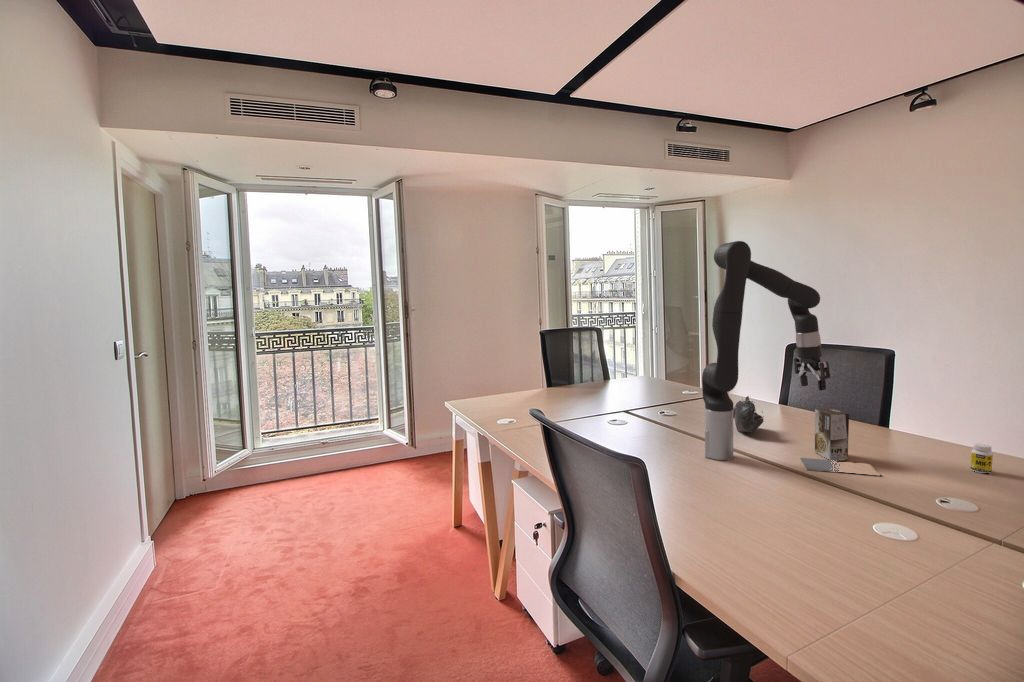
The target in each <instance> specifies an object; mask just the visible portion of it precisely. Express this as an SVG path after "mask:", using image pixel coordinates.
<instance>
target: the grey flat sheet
mask: <svg viewBox="0 0 1024 682" xmlns="http://www.w3.org/2000/svg"><path fill="white" fill-rule="evenodd" d="M800 461H801V463H802V464H803V463H804V464H803V466H804V465H805V466H804V468H805V467H806V468H805V470H806V469H807V470H806V471H809V470H821V471H833V466H832V465H833V464H834V463H833V462H834V461H836V460H834V461H833V460H832V461H833V462H832V461H831V460H828V459H824V458H823V459H822V458H813V457H812V458H811V457H810V458H809V457H800ZM831 462H832V464H831ZM837 463H838V462H837ZM837 463H835V464H834V468H835V469H837V468H836V467H835V465H837ZM839 466H840V464H839ZM837 467H838V466H837ZM831 468H832V469H831ZM830 469H831V470H830ZM835 469H834V471H835V472H836V471H837V472H838V471H839V470H838V469H839V468H838V469H837V470H835ZM821 471H820V472H821Z"/></svg>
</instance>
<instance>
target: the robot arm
mask: <svg viewBox="0 0 1024 682" xmlns="http://www.w3.org/2000/svg"><path fill="white" fill-rule="evenodd" d="M713 259H714V263H715V264H716V265H717V266H718V267H719V268H721V269H722V270H725V279H724V283H723V286H722V289H721V290H720V293H719V294H718V297H717V299H716V300H715V303H714V307H713V312H712V320H711V321H712V323H711V326H712V327H711V328H712V332H713V336H714V340H715V343H716V347H717V348H716V349H717V355H716V362H711V363H708V364H707V365H706V366H705V367H704V368H703V371H702V375H701V383H702V384H701V386H702V389H701V390H702V391H701V392H702V400H703V402H704V408H705V410H704V412H705V413H704V416H705V417H704V418H705V419H704V425H705V427H704V458H708V459H712V460H716V461H717V460H718V461H727V460H732V459H734V419H733V409H734V402H733V400H732V399H731V397H730V396H729V392H731V391H732V390H734V389H735V388H736V386H737V384H738V380H739V350H740V338H741V327H742V320H743V312H744V311H743V310H744V299H745V292H746V284H747V280H750V281H752V282H754V283H756V284H757V285H759V286H761V287H763V288H764V289H765V290H768V291H769V292H771V293H773V294H774V295H775V296H778V297H781V298H782V299H783V298H784V299H787V305H788V309H789V311H790V314H791V316H792V318H793V321H794V328H795V343H796V353H797V357H796V358H795V357H794V359H793V364H794V365H793V366H794V373H795V374H796V375H797V374H798V377H799V379H800V386H801V387H807V386H808V385H809V382H808V381H809V379H808V375H807V374H808V373H812V375H813V376H815V377H816V379H817V386H818V391H826V390H827V383H826V380H828V379H830V378H831V373H830V365H829V362H828V361H822V360H821V357H822V356H823V350H822V349H823V348H822V341H821V335H820V332H819V328H820V327H819V323H818V317H817V316H816V315H815V314H812V313H811V312H810V310H809V309H813V308H816V307H817V306H818V305H819V304H820V302H821V295H820V293H819V291H817V290H816V289H814V287H811V286H809V285H807V284H804V283H802V282H800V281H797V280H795V279H792V278H791V277H789V276H788V275H786V274H784V273H783V272H782V271H781V272H780V271H778V270H777V269H774V268H772V267H769V266H765V265H764V264H763V265H762V264H760V263H757V262H755V261H753V260H751V259H752V251H751V247H750V246H749V244H748V243H747V242H745V241H743V240H736V241H731V242H726V243H723V244H720V245H718V246H717V248H716V249H715V250H714V254H713Z"/></svg>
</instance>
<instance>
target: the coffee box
mask: <svg viewBox="0 0 1024 682" xmlns="http://www.w3.org/2000/svg"><path fill="white" fill-rule="evenodd" d="M849 427H850V413H848V412H845V411H842V410H840V409H837V408H833V407H827V408H815V409H814V453H815V452H816V453H815V454H817V453H818V454H820V455H821V456H820V455H819V456H820V457H822V456H823V458H824V457H825V459H826V458H827V459H826V460H828V459H829V460H837V461H840V460H839V459H848V460H849V435H850V434H849V429H850V428H849ZM818 454H817V455H818Z"/></svg>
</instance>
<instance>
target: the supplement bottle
mask: <svg viewBox="0 0 1024 682" xmlns="http://www.w3.org/2000/svg"><path fill="white" fill-rule="evenodd" d="M970 452H971V453H970V468H969V469H970V471H972V470H973V471H972V472H974V471H975V472H974V473H976V472H979V473H978V474H981V473H990V474H991V473H992V472H993V471H992V470H993V452H992V445H989V444H986V443H976V442H975V443H973V449H971V451H970Z"/></svg>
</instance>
